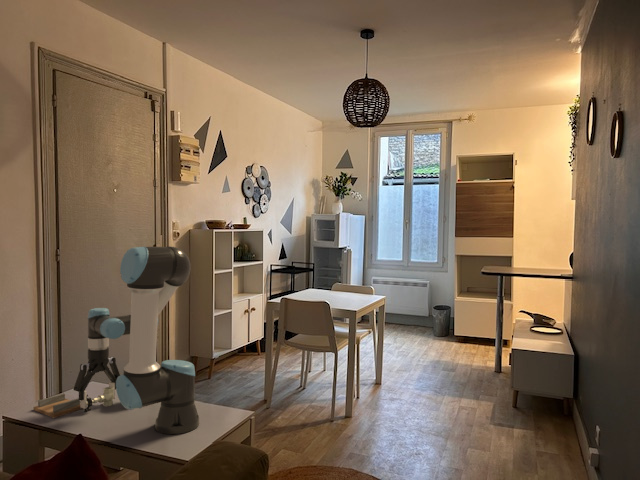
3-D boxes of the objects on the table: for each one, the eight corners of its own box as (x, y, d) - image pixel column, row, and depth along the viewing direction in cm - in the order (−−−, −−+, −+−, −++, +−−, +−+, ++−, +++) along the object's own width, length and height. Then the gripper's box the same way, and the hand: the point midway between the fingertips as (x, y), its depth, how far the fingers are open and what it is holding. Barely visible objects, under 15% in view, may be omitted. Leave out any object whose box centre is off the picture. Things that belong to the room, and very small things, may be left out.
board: (84, 408, 190) (84, 398, 190) (54, 417, 180) (54, 407, 180) (63, 400, 197) (63, 391, 197) (33, 410, 187) (33, 400, 187)
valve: (107, 401, 198) (79, 410, 187) (107, 385, 197) (79, 393, 187) (117, 404, 194) (90, 414, 184) (118, 388, 194) (90, 396, 184)
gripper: (118, 340, 202) (118, 392, 203) (63, 352, 182) (62, 410, 182) (130, 343, 198) (130, 396, 199) (75, 355, 178) (74, 414, 178)
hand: (97, 403), depth 191 cm, fingers closed on valve, 11 cm apart
